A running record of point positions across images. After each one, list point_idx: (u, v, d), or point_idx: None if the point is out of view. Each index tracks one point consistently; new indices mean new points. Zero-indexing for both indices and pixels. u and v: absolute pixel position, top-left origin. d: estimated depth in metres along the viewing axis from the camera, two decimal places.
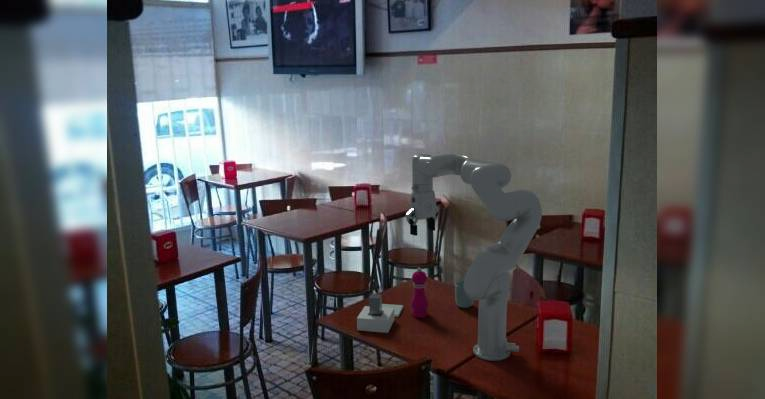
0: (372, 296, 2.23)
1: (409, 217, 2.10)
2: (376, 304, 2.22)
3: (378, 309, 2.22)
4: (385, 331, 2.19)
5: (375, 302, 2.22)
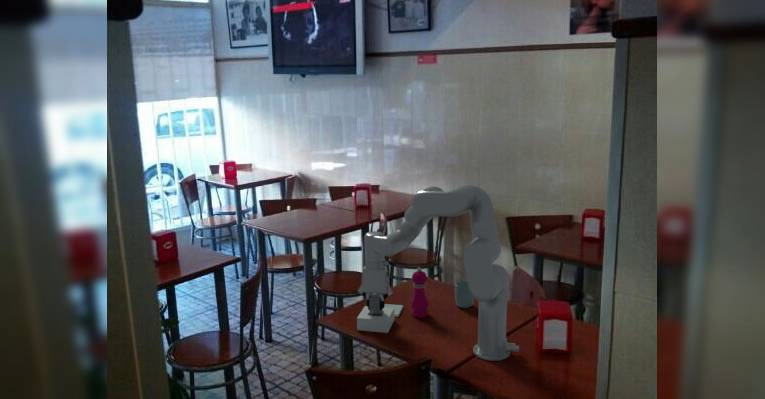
0: (372, 296, 2.23)
1: None
2: (376, 304, 2.22)
3: (378, 309, 2.22)
4: (385, 331, 2.19)
5: (375, 302, 2.22)
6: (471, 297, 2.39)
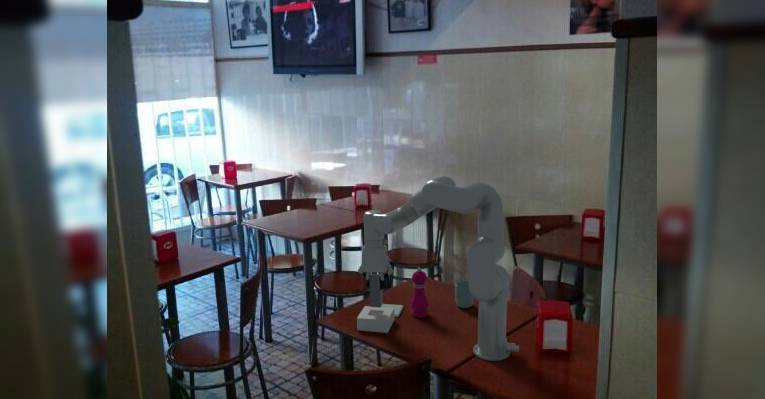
0: (372, 276, 2.21)
1: None
2: (376, 284, 2.20)
3: (378, 289, 2.20)
4: (385, 331, 2.19)
5: (376, 281, 2.20)
6: (471, 297, 2.39)
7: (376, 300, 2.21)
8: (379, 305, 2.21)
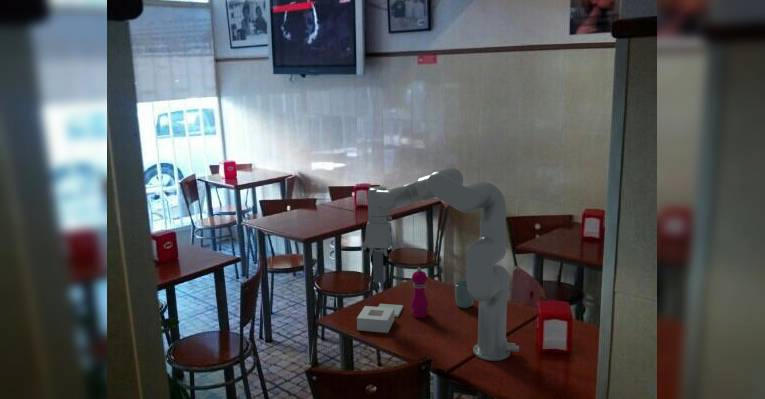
0: (375, 252, 2.24)
1: None
2: (379, 260, 2.23)
3: (382, 264, 2.23)
4: (385, 331, 2.19)
5: (379, 257, 2.22)
6: (471, 297, 2.39)
7: (379, 275, 2.24)
8: (382, 281, 2.24)
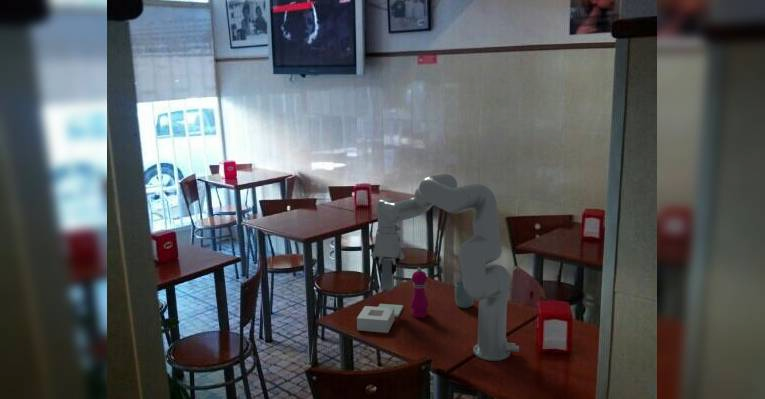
0: (384, 260, 2.34)
1: None
2: (388, 268, 2.33)
3: (390, 272, 2.33)
4: (385, 331, 2.19)
5: (388, 265, 2.33)
6: None
7: (388, 283, 2.34)
8: (390, 288, 2.34)
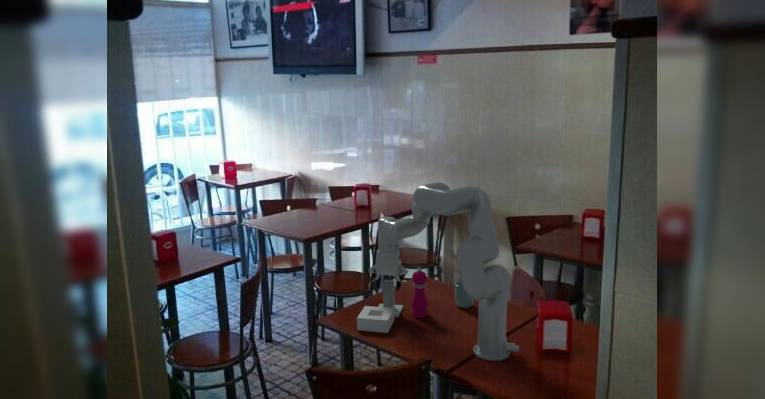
0: (385, 281, 2.36)
1: None
2: (389, 289, 2.34)
3: (391, 294, 2.35)
4: (385, 331, 2.19)
5: (389, 287, 2.34)
6: None
7: (389, 304, 2.36)
8: None
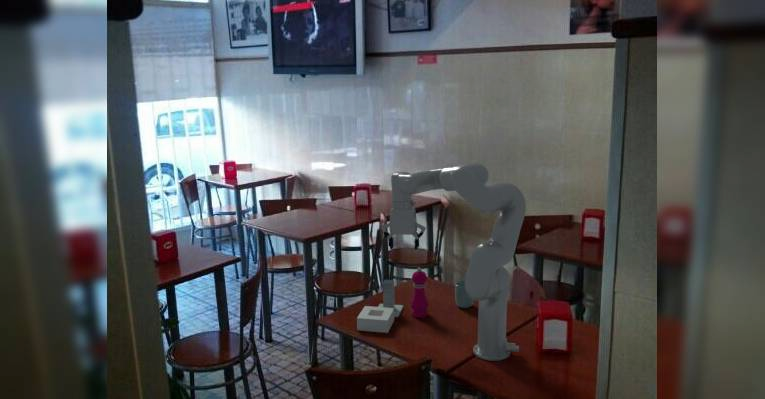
0: (385, 281, 2.36)
1: None
2: (389, 289, 2.34)
3: (391, 294, 2.35)
4: (385, 331, 2.19)
5: (389, 287, 2.34)
6: None
7: (389, 304, 2.36)
8: None
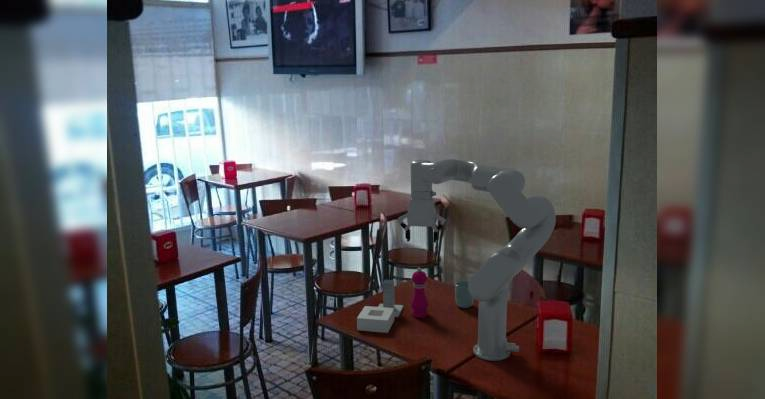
0: (385, 281, 2.36)
1: None
2: (389, 289, 2.34)
3: (391, 294, 2.35)
4: (385, 331, 2.19)
5: (389, 287, 2.34)
6: (471, 297, 2.39)
7: (389, 304, 2.36)
8: None
